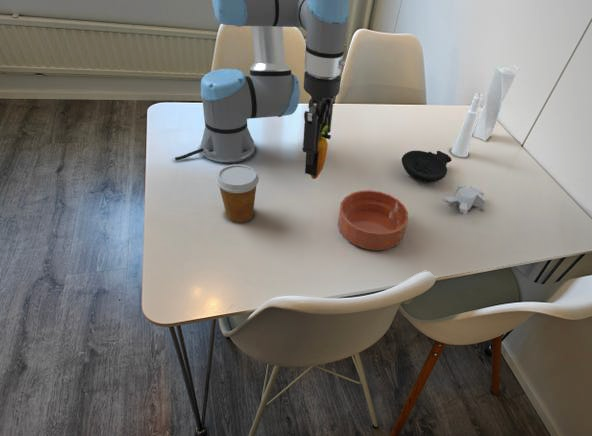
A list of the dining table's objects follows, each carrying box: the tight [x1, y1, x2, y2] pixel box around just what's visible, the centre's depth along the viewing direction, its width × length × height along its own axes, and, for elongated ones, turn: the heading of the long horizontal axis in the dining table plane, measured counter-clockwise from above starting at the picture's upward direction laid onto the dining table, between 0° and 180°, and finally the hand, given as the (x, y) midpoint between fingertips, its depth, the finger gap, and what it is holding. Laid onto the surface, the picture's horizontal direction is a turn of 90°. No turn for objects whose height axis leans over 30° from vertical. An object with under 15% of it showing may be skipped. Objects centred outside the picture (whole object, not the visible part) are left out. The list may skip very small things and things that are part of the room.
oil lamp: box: [401, 150, 452, 184], centre depth 127 cm, size 15×20×5 cm
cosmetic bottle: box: [450, 92, 483, 158], centre depth 136 cm, size 6×6×22 cm
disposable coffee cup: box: [215, 163, 260, 223], centre depth 97 cm, size 10×10×12 cm
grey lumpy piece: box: [442, 185, 487, 215], centre depth 117 cm, size 10×5×15 cm
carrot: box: [310, 125, 329, 180], centre depth 94 cm, size 5×5×15 cm
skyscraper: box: [472, 64, 519, 142], centre depth 148 cm, size 8×8×28 cm
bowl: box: [337, 189, 409, 251], centre depth 102 cm, size 17×17×6 cm
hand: (314, 167), depth 97 cm, fingers closed on carrot, 5 cm apart
